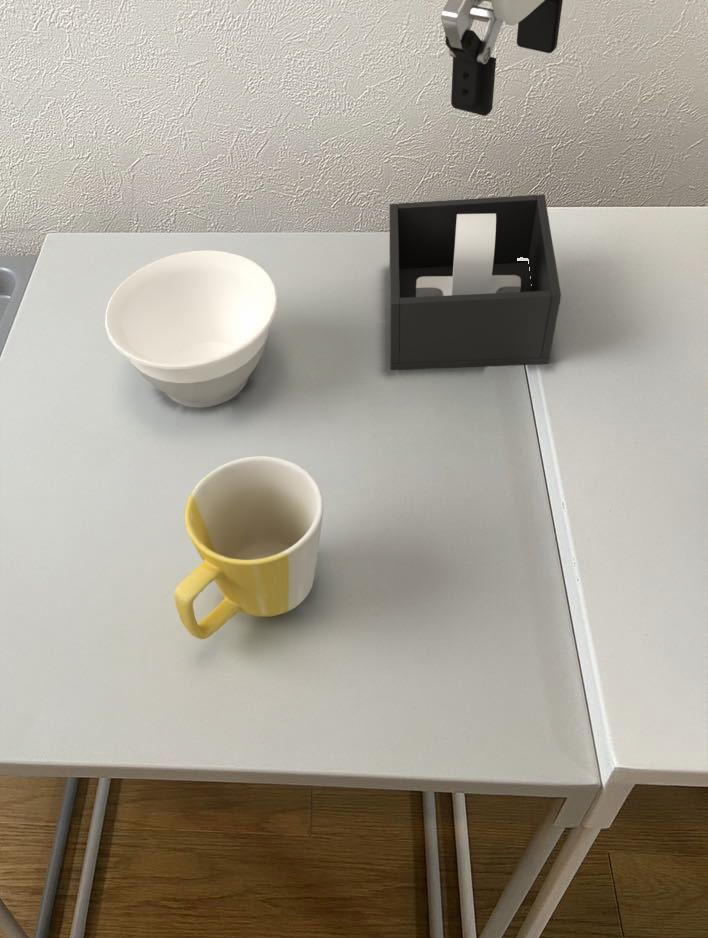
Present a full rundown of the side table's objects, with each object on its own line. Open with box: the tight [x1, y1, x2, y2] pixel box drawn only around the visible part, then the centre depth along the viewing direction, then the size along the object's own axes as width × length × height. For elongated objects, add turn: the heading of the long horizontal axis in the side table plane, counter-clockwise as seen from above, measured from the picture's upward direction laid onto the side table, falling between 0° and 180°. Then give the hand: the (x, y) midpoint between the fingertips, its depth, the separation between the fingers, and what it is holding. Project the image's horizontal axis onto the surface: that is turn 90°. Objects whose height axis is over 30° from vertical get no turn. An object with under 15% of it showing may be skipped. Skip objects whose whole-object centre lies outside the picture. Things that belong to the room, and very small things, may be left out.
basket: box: [388, 194, 562, 370], centre depth 89 cm, size 15×15×8 cm
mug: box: [173, 455, 324, 640], centre depth 72 cm, size 14×10×10 cm
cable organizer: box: [416, 214, 521, 297], centre depth 87 cm, size 5×10×10 cm, turn 82°
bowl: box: [104, 249, 279, 408], centre depth 88 cm, size 16×16×8 cm
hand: (504, 78), depth 72 cm, fingers open, 9 cm apart
